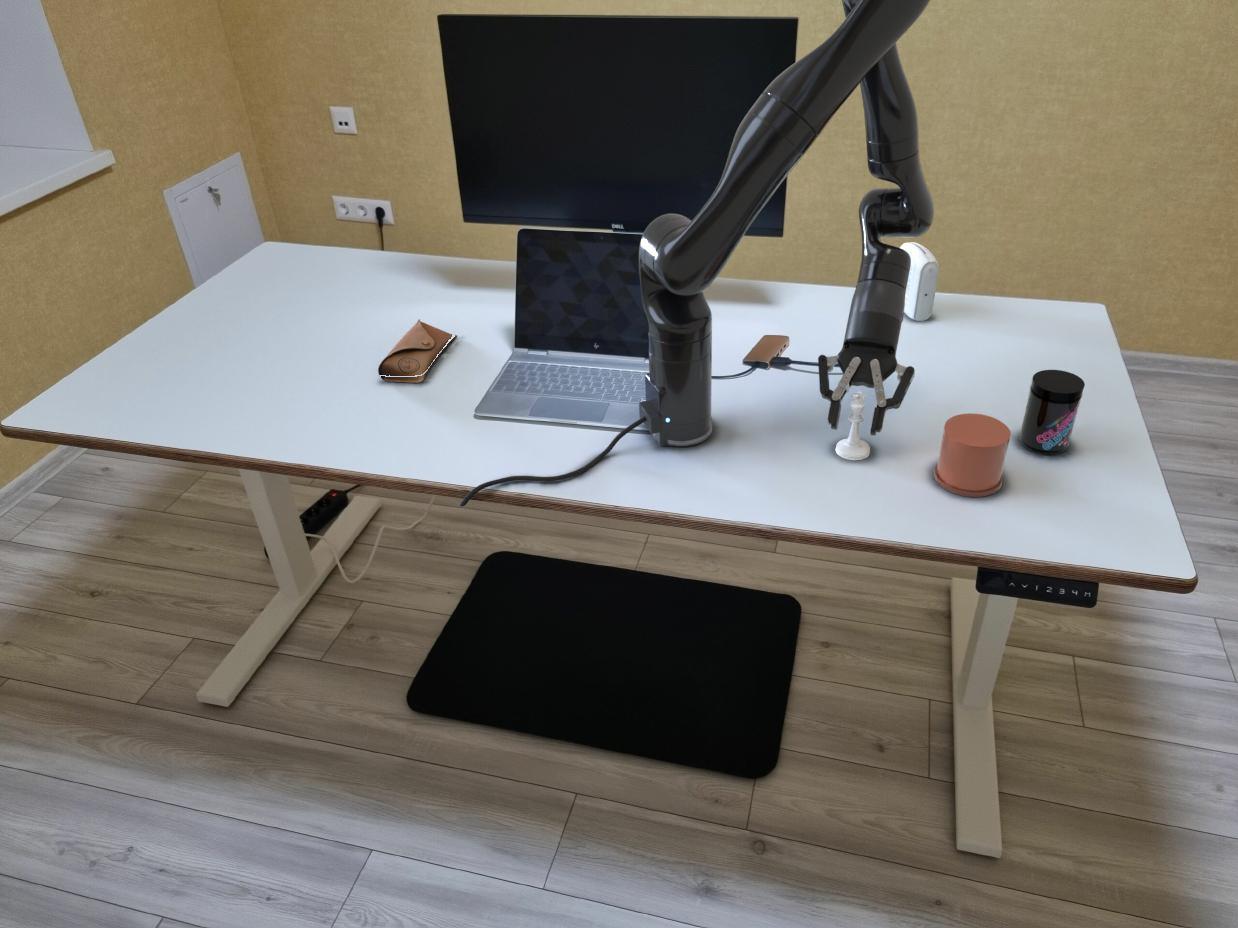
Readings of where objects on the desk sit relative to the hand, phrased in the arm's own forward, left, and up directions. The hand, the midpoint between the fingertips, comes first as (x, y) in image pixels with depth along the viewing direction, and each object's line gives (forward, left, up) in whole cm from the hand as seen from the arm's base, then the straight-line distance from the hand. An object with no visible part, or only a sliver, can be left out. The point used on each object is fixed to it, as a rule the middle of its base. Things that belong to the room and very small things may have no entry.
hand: (853, 430), depth 132 cm
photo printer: (+35, +38, -5) cm, 52 cm away
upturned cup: (+12, -11, -5) cm, 17 cm away
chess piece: (+1, +1, -5) cm, 5 cm away
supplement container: (+27, -8, -5) cm, 29 cm away
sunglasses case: (-54, +57, -5) cm, 79 cm away
